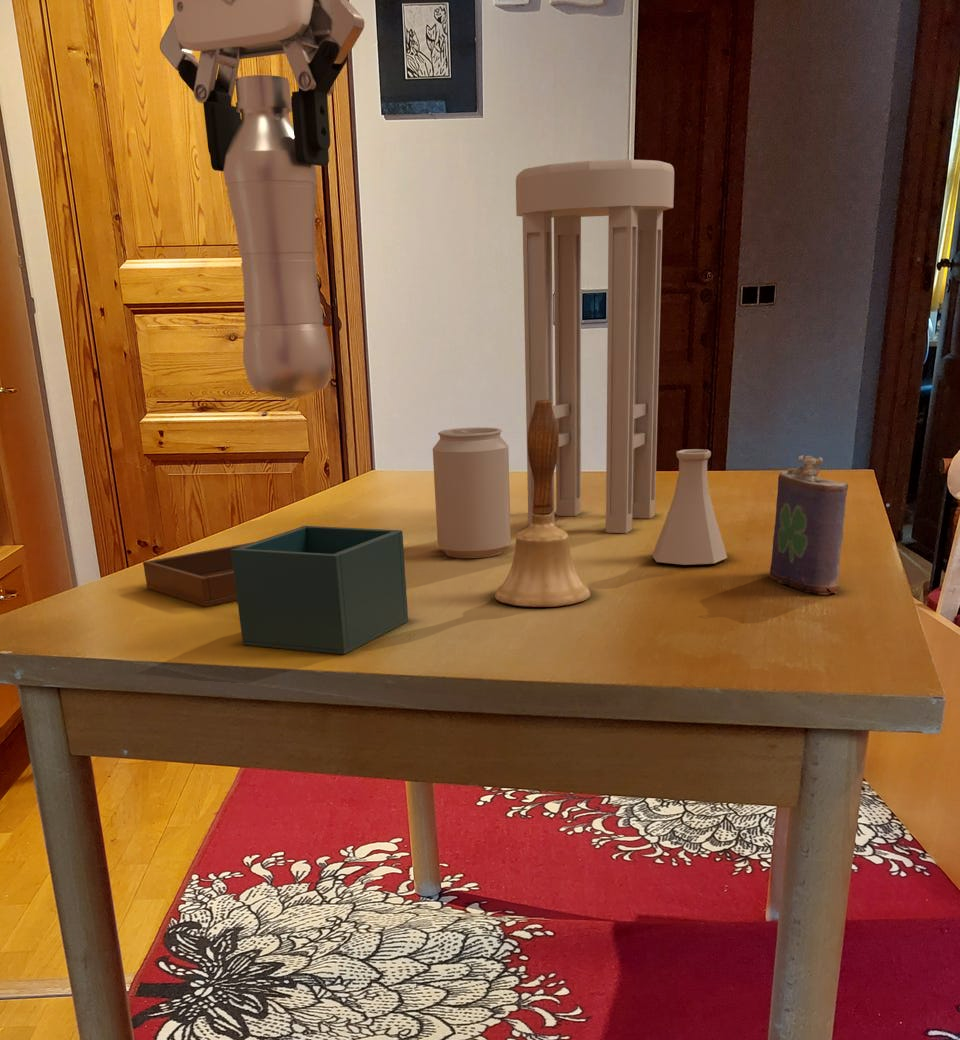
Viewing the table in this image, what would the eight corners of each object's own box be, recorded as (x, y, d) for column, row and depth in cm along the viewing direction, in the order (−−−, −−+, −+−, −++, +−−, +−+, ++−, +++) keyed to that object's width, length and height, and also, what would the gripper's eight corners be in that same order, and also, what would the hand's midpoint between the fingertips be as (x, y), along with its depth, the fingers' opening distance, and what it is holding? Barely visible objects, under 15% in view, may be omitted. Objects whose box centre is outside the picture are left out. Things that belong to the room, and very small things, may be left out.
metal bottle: (348, 393, 89) (326, 83, 81) (312, 401, 83) (284, 67, 75) (271, 394, 91) (241, 91, 82) (230, 401, 85) (194, 75, 77)
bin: (344, 654, 87) (335, 555, 84) (242, 644, 91) (230, 549, 88) (408, 621, 96) (402, 530, 92) (312, 613, 99) (304, 525, 96)
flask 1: (731, 553, 115) (737, 446, 111) (722, 568, 109) (728, 456, 104) (658, 551, 117) (661, 446, 113) (645, 566, 111) (647, 456, 107)
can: (512, 558, 117) (509, 431, 111) (437, 561, 117) (430, 434, 111) (509, 543, 123) (506, 423, 118) (438, 546, 123) (432, 426, 118)
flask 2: (844, 593, 98) (856, 460, 94) (812, 597, 98) (823, 463, 93) (789, 572, 106) (798, 448, 102) (760, 575, 106) (767, 451, 101)
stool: (504, 532, 130) (494, 167, 115) (552, 508, 142) (549, 178, 127) (639, 537, 124) (647, 154, 109) (676, 512, 137) (688, 167, 121)
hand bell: (561, 581, 106) (560, 394, 100) (608, 599, 100) (610, 399, 93) (479, 593, 103) (471, 401, 96) (521, 613, 97) (517, 407, 90)
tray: (205, 607, 103) (201, 578, 102) (146, 588, 110) (142, 561, 109) (355, 575, 112) (353, 549, 111) (291, 560, 120) (289, 535, 119)
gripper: (92, -156, 74) (136, 172, 81) (326, -211, 67) (349, 153, 74) (169, -123, 80) (203, 180, 87) (390, -170, 73) (406, 163, 80)
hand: (270, 165), depth 81 cm, fingers closed on metal bottle, 6 cm apart
